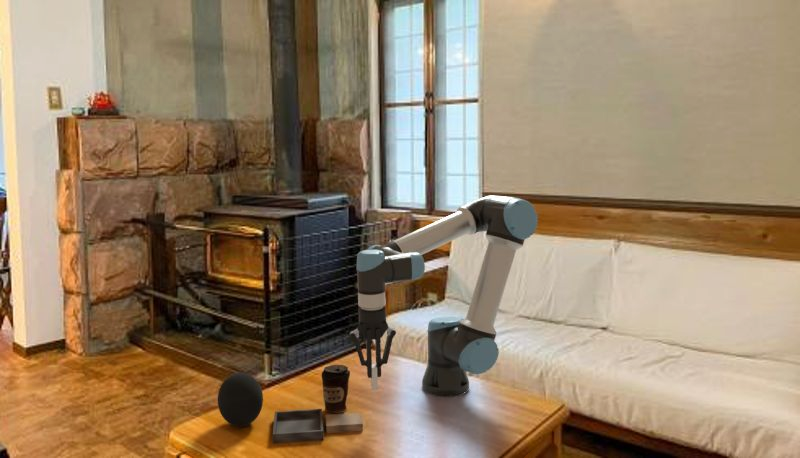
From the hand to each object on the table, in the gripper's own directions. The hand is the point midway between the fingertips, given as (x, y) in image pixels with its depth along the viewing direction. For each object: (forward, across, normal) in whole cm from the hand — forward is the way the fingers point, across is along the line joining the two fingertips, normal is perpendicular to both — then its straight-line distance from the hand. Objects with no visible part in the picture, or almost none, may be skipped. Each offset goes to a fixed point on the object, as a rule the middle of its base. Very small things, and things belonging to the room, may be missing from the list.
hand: (374, 387), depth 183 cm
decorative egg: (+10, +38, -6) cm, 39 cm away
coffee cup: (+11, +11, -12) cm, 19 cm away
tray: (+10, +22, 0) cm, 24 cm away
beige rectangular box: (+11, +9, 0) cm, 14 cm away
